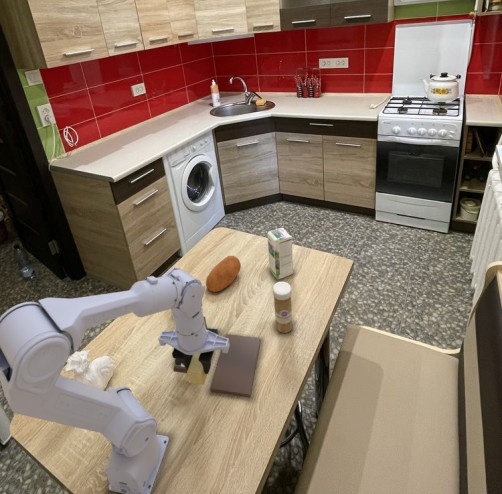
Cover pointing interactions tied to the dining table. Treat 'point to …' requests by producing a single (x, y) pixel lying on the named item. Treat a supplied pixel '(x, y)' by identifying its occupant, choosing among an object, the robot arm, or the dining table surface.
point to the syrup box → (280, 253)
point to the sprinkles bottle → (283, 306)
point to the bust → (90, 369)
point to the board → (237, 366)
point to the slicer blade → (180, 368)
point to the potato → (223, 274)
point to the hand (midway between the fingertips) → (199, 368)
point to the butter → (196, 371)
